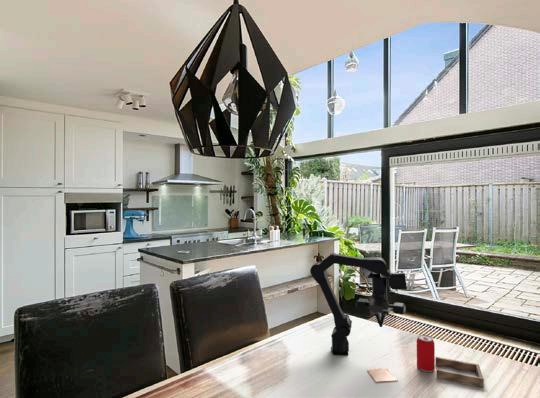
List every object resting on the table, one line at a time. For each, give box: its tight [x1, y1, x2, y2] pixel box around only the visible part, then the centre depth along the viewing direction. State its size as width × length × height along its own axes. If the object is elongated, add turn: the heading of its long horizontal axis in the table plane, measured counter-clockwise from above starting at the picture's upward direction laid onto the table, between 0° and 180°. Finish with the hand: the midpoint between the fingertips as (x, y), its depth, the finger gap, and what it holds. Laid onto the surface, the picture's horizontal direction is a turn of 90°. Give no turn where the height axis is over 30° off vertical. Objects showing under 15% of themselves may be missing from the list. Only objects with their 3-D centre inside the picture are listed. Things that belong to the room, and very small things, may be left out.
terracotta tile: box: [367, 367, 399, 384], centre depth 120 cm, size 8×8×1 cm
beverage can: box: [416, 334, 436, 373], centre depth 125 cm, size 6×6×12 cm
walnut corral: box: [435, 356, 485, 389], centre depth 120 cm, size 14×11×3 cm
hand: (381, 326), depth 134 cm, fingers closed
